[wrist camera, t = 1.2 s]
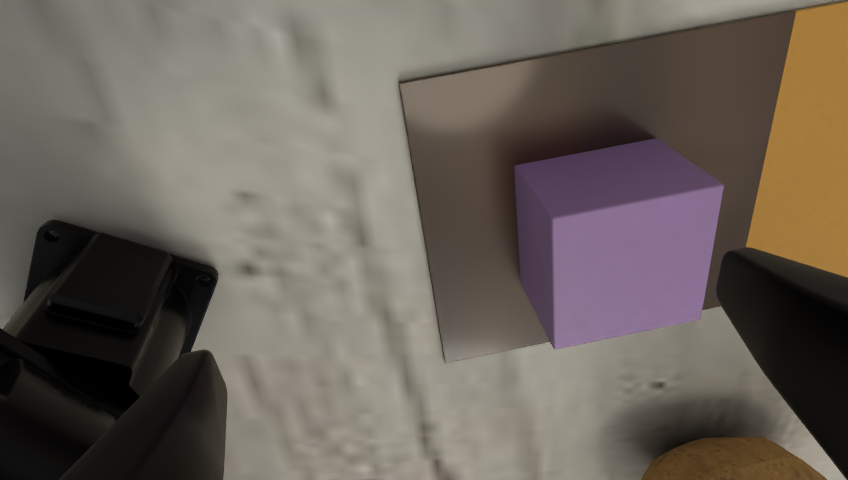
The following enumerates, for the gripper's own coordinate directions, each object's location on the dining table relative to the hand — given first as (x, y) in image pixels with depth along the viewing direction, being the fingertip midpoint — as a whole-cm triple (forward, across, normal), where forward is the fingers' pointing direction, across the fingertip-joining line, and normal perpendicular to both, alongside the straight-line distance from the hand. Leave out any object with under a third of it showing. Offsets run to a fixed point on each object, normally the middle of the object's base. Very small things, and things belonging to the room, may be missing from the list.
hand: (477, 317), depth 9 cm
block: (+12, -7, +6) cm, 15 cm away
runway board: (+12, -8, +6) cm, 16 cm away
